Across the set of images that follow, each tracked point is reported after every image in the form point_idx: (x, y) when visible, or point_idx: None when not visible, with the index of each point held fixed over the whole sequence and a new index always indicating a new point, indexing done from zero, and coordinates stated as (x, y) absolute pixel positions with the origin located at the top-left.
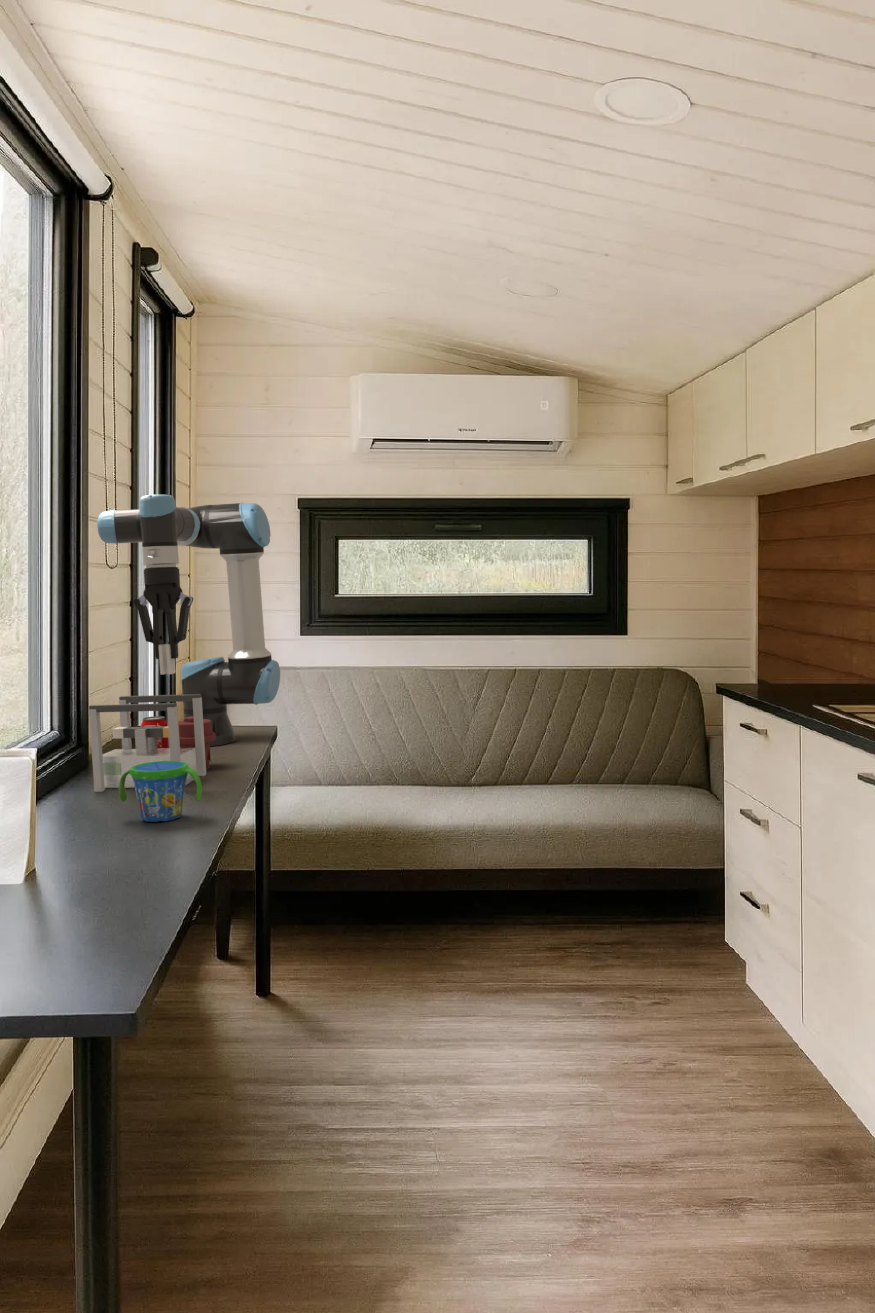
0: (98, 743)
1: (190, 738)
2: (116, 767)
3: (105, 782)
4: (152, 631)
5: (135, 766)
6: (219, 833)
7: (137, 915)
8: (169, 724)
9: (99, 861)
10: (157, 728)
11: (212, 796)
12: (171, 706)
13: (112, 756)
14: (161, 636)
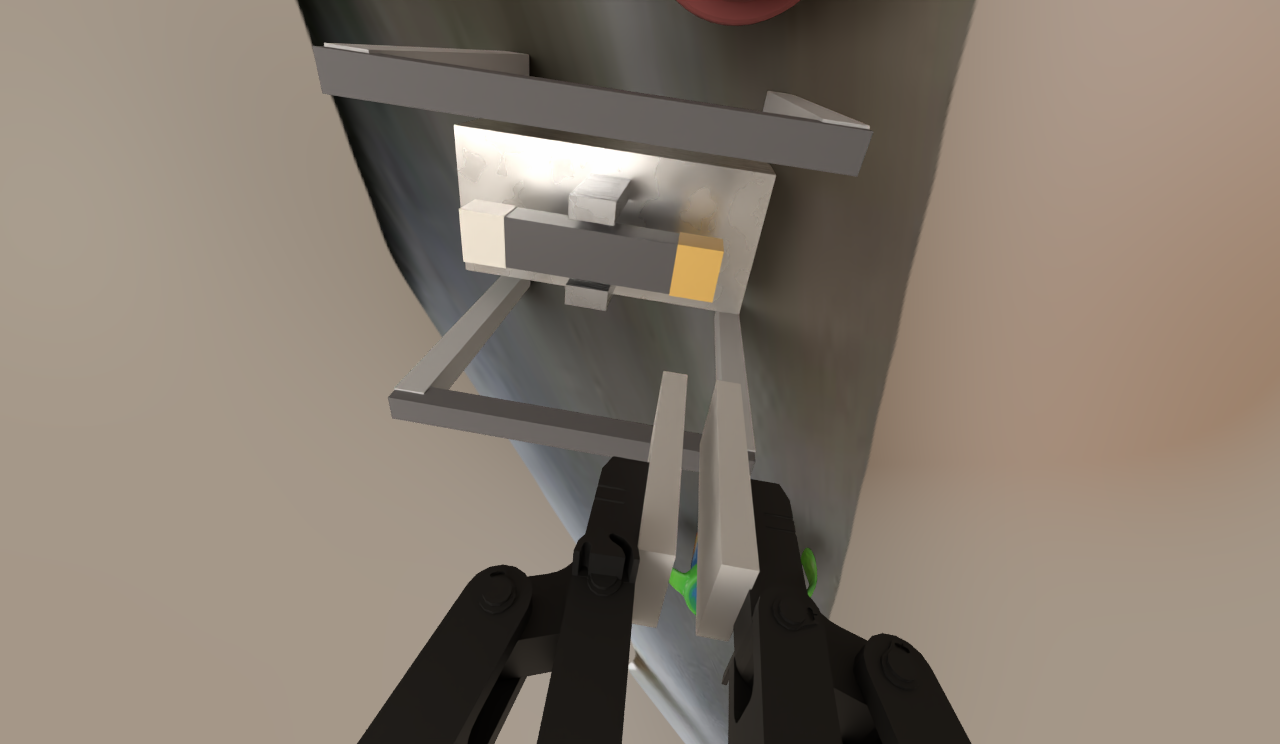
0: (481, 345)
1: (744, 22)
2: None
3: None
4: (480, 708)
5: (691, 591)
6: (833, 595)
7: None
8: None
9: (693, 641)
10: (647, 290)
11: (819, 391)
12: None
13: (515, 277)
14: (619, 656)
